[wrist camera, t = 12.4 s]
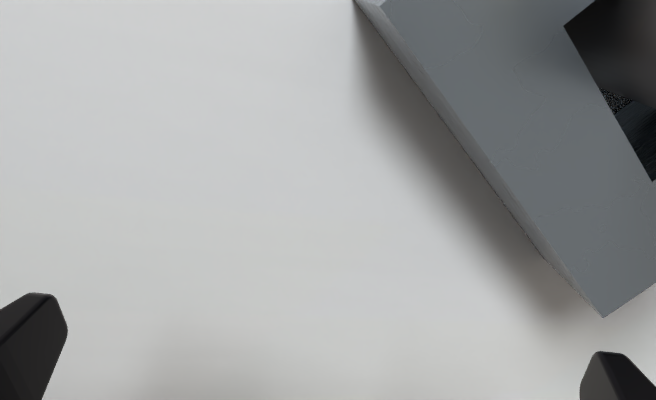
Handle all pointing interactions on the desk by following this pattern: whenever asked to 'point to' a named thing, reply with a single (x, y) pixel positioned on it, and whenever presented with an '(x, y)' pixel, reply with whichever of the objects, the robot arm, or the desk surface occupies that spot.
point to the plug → (619, 46)
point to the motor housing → (539, 132)
